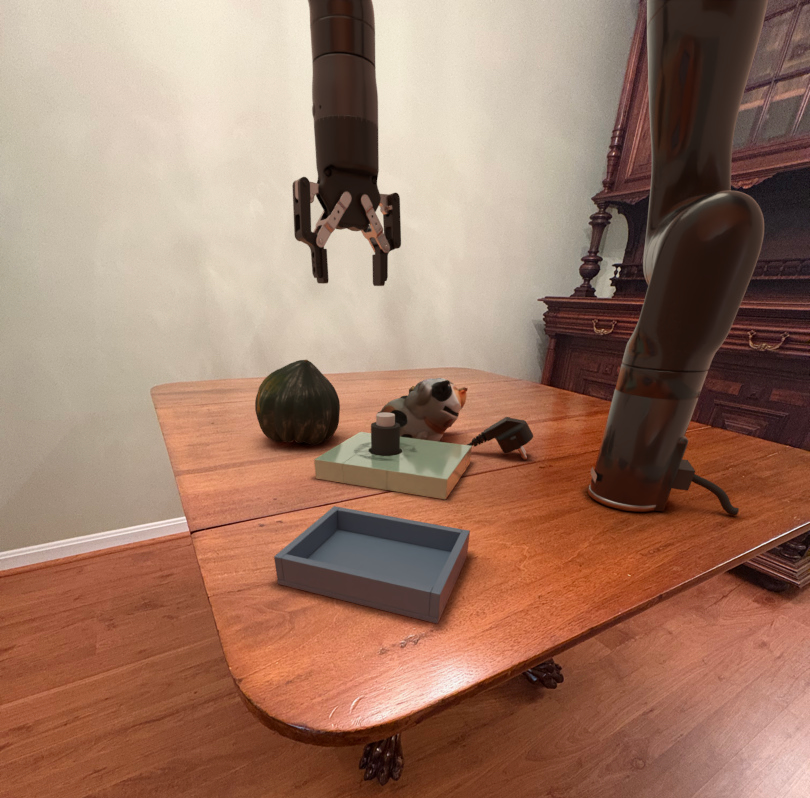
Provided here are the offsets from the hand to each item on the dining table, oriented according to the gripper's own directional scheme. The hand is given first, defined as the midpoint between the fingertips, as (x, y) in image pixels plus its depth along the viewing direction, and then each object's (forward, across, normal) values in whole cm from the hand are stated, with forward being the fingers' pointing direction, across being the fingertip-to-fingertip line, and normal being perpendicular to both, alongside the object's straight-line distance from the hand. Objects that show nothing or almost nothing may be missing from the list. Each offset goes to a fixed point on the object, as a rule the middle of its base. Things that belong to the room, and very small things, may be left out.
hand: (351, 284), depth 58 cm
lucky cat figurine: (+25, +17, +6) cm, 31 cm away
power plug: (+25, +22, -9) cm, 35 cm away
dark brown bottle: (+25, +2, -5) cm, 26 cm away
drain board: (+25, +3, -7) cm, 26 cm away
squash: (+25, -4, +16) cm, 30 cm away
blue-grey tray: (+25, -14, -29) cm, 41 cm away
